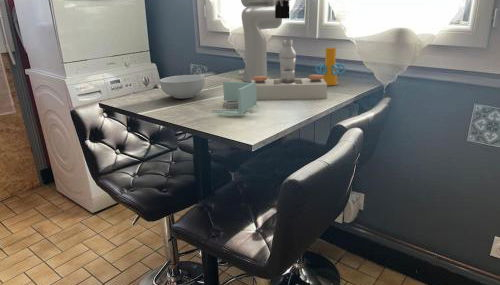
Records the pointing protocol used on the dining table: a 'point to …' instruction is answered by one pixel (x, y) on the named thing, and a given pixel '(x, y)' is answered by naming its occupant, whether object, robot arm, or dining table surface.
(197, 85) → the cereal bowl
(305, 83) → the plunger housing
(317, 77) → the brown egg
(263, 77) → the chicken egg
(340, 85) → the dining table surface
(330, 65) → the orange post blue wheels
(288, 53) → the gray metal bottle
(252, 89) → the right angle wall
